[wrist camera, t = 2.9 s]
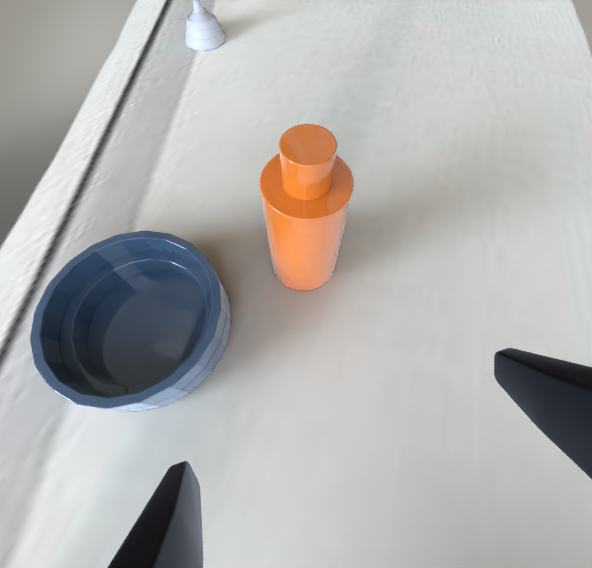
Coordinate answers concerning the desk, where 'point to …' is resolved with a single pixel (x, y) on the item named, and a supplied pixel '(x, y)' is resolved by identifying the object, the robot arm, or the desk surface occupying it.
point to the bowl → (131, 323)
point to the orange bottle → (305, 206)
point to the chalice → (203, 29)
